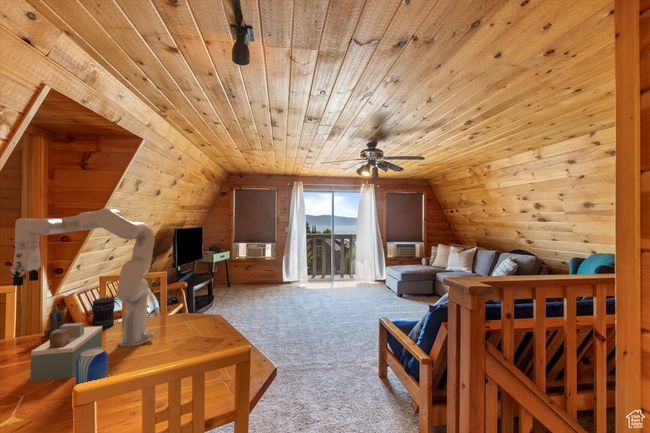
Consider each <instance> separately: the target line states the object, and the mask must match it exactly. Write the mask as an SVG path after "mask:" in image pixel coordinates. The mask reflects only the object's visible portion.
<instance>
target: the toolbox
mask: <svg viewBox="0 0 650 433" xmlns="http://www.w3.org/2000/svg"><path fill="white" fill-rule="evenodd" d="M102 345H103V330H101V331H100V332H98V333H97V334H96V335H94V336H93V337H92V338H90V339H89V340H88V341H86V342H85V343H84V344H82V345H81V346H80V347H79V348H77V349H76V350H75V351H73V352H66V353H54V354H41V355H31V354H30V375H29V376H30V378H29V380H30V381H29V382H30V383H33V382H35V383H36V382H44V381H55V380H62V379H63V380H65V379H73V377H75V376H76V362H77V360H78V358H79V357H80V354H81V353H82V352H83V351H85V350H88V349H91V348H96V347H102Z"/></svg>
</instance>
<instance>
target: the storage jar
mask: <svg viewBox="0 0 650 433" xmlns="http://www.w3.org/2000/svg"><path fill="white" fill-rule="evenodd" d="M115 299H116V298H115V297H101V298H97V299H94V300H93V301H92V310H91V312H92V319H91V327H98V326H102V331H103V330H107V329H110V328H113V327H114V325H115V306H116V304H115V302H116V300H115Z"/></svg>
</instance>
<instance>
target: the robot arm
mask: <svg viewBox="0 0 650 433" xmlns="http://www.w3.org/2000/svg"><path fill="white" fill-rule="evenodd" d="M14 225H15V226H14V229H15V231H14V235H15V236H14V254H13V255H14V256H13V262H12V263H13V264H12V266H11V267H10V268H9V269H10V273H11V276H12V285H13V287H17V286H19V287H21V286H23V285H24V273H25V272H28V275H29V276H28V280H29V281H30V282H34V281H39V275H40V274H39V272H40V268H41V266H42V264H41V263H42V260H41V259H42V258H41V251H40V236H46V235H47V236H48V235H57V234H65V233H71V232H72V233H73V232H77V231H88V230H96V229H101V228H102V229H104V230H105V231H107V232H109V233H110V234H113V235H115V236H116V237H119V238H120V239H123V240H125V241H127V240H128V241H131V240H135V243H134V245H133V249H132V254H131V259H128V260H127V261H126V262H124V264H123V265H122V267H121V270H120V273H119V277H118V278H119V279H118V282H117V288H116V296H117V299H118V300H119V301H120V302H122V303H123V304H124V305H123V327H122V338H121V339H120V340H119V341H118V345H119V346H120V347H123V348H128V347H129V348H131V347H137V346H140V345H143V344H145V343H147V342H148V341H149V340H150V338H155V337H156V333H155V332H154V331H151V332H149V329H147V315H148V314H147V311H148V310H147V308H148V295H149V290H150V287H149V286H150V285H149V282H148V281H147V279H145V278H144V276H146V275H147V274H148V273H149V272H150V270H151V267H152V266H151V264H152V260H153V251H154V247H155V239H156V238H155V233H154V230H153V229H152V228H151V227H150V226H149V225H147V224H146V223H145V222H141V221H130V220H128V219H126V218H125V217H124V214H123V212H122V211H121V210H119V209H116V208H101V209H100V208H99V209H98V210H94V211H93V210H92V211H86V212H85V211H83V212H80V213H79V214H78V215H73V216H66V217H56V218H54V217H52V218H18V219H16V220H15V224H14Z"/></svg>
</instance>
